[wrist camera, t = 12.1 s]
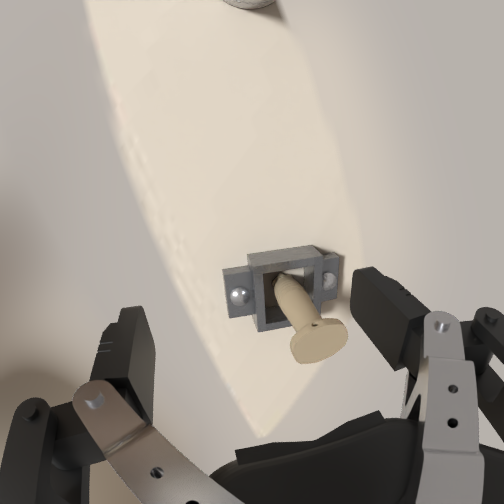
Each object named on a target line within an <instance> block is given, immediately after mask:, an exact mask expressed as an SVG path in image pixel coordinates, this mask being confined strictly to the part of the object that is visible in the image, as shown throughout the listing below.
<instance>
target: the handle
mask: <svg viewBox="0 0 504 504" xmlns="http://www.w3.org/2000/svg"><path fill="white" fill-rule="evenodd" d="M272 285H273V287H274V292H275V296H276V299H277V302H278V304H279V306H280V308H281V310H282V311H283V313H284V314H285V316H286V317H287V319H288V320H289V321H290V323H291V324H292V326H293V328H294V329H295V331H296V332H297V333H296V334H295V335H294V336H293V337H292V339H291V342H290V348H291V352H292V354H293V356H294V358H295V360H296V361H297V362H298V363H300V364H308V363H316V362H319V361H322V360H324V359H326V358H329V357H330V356H332V355H334V354H335V353H336V352H338V351H339V350H340V349H341V348H342V347H343V346H345V344H346V342H347V339H348V332H347V329H346V327H345V326H344V324H343V323H342V322H341V321H340V320H338V319H334V318H325V319H322V318H321V316H320V314H319V313H318V311H317V309H316V308H315V306H314V304H313V302H312V301H311V299H310V297H309V295H308V294H307V292H306V291H305V289H304V288H303V287H302V286H301V285H300V284H299V283H298V282H297V281H296V280H295V279H294V278H293V277H292V276H291V275H290V274H288V275H285V274H283V273H280V274H278V276H277V278H276V279H274V280H273V281H272Z"/></svg>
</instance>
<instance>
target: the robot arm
mask: <svg viewBox="0 0 504 504" xmlns="http://www.w3.org/2000/svg"><path fill="white" fill-rule="evenodd" d="M223 1H225V2H226V3H228V4H230V5H233V6H235V7H239V8H245V9H256V8H261V7H265V6H267V5H269V4H271V3H272V2H274V1H275V0H223ZM350 310H351V314H352V316H353V318H354V319H355V321H356V322H357V323H358V324H359V326H360V327H361V328H362V329H363V331H364V332H365V333H366V335H367V336H368V337H369V338H370V340H371V341H372V342H373V344H374V345H375V346H376V347H377V349H378V350H379V351H380V353H381V354H382V355H383V357H384V358H385V359H386V360H387V362H388V363H389V364H390V366H391V367H392V368H393V370H394V371H397V370H399V369H402V368H404V367H406V368H407V369H408V372H407V375H406V382H405V391H404V398H403V404H402V411H401V416H400V418H386V419H384V418H383V416H382V415H381V413H380V411H379V410H378V411H375V412H373V413H370V414H367V415H365V416H362V417H359V418H357V419H354V420H351V421H348V422H346V423H344V424H343V425H341V426H339V427H338V428H336V429H334V430H333V431H331V432H329V433H327V434H326V435H324V436H322V437H320V438H319V439H317V440H314V441H302V442H278V443H277V442H275V443H274V442H273V443H268V444H264V445H259V446H254V447H249V448H244V449H238V450H235V453H236V457H237V460H235V461H232V462H230V463H228V464H226V465H224V466H222V467H220V468H219V469H217V470H216V471H214V472H213V473H212V474H211V475H210V476H208V475H206V474H205V473H204V472H203V471H202V470H200V469H199V468H198V467H197V466H196V465H195V464H193V463H192V462H191V461H190V460H189V459H188V458H187V457H185V456H184V455H183V454H182V453H181V452H180V451H179V450H178V449H176V447H175V446H173V445H172V444H171V443H170V442H169V441H168V440H167V439H166V438H165V437H164V436H163V435H162V434H161V433H160V432H159V431H158V430H157V429H156V428H155V427H154V426H153V425H152V424H153V392H154V372H155V345H154V340H153V337H152V334H151V331H150V328H149V325H148V322H147V319H146V315H145V312H144V309H143V307H142V306H134V307H127V308H122V309H121V311H120V315H119V319H118V322H117V323H110V325H109V326H108V327H107V328H106V330H105V331H104V332H103V334H102V337H101V340H100V345H99V347H98V353H97V354H96V358H95V361H94V365H93V369H92V373H91V376H90V380H89V382H87V383H85V384H83V385H82V386H80V387H79V388H78V389H77V390H76V392H75V393H74V395H73V399H72V401H71V402H68V403H64V404H61V405H58V406H55V407H50V406H49V405H48V403H47V402H46V401H45V400H44V399H41V398H30V399H27V400H25V401H24V402H22V403H21V404H20V405H19V406H18V407H17V409H16V411H15V413H14V416H13V420H12V423H11V427H10V430H9V434H8V438H7V442H6V446H5V450H4V454H3V458H2V463H1V468H0V504H89V477H90V465H91V464H94V463H98V462H101V461H104V460H107V461H108V462H109V464H110V465H111V466H112V468H113V469H114V470H115V471H116V473H117V474H118V475H119V477H120V478H121V479H122V480H123V482H124V483H125V484H126V485H127V487H128V488H129V489H130V490H131V491H132V492H133V494H134V495H135V496H136V497H137V498H138V499H139V500H140V502H141V503H142V504H504V451H502V450H499V449H496V448H492V447H489V446H486V445H483V444H480V443H479V422H478V421H479V418H478V407H479V408H480V410H481V411H482V412H483V414H484V415H485V417H486V418H487V419H488V420H489V422H490V423H491V425H492V426H493V428H494V429H495V430H496V432H497V433H498V435H499V436H500V438H501V439H502V440H503V442H504V382H503V381H502V379H501V378H500V377H499V376H498V375H497V374H496V372H495V371H494V370H493V369H492V368H491V367H490V366H489V362H490V360H491V358H492V356H493V354H495V355H496V356H497V358H498V359H499V360H500V361H501V362H502V363H503V364H504V315H503V314H502V313H501V312H499V311H498V310H496V309H493V308H489V307H483V308H479V309H478V310H477V311H476V314H475V316H474V319H473V320H472V321H463V322H459V321H458V319H457V318H456V317H454V316H453V315H451V314H449V313H447V312H442V311H434V312H431V311H430V310H429V309H428V308H427V307H426V306H424V305H423V304H422V303H421V302H420V301H419V300H418V299H417V298H416V297H414V296H413V295H411V293H410V292H409V291H408V290H407V289H405V288H404V287H403V286H402V285H401V284H400V283H399V282H397V281H395V280H394V279H391V278H389V277H387V276H384V275H382V274H381V273H380V272H379V271H378V270H377V269H376V268H374V267H367V268H362V269H357V270H355V271H354V272H353V277H352V288H351V298H350Z"/></svg>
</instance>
